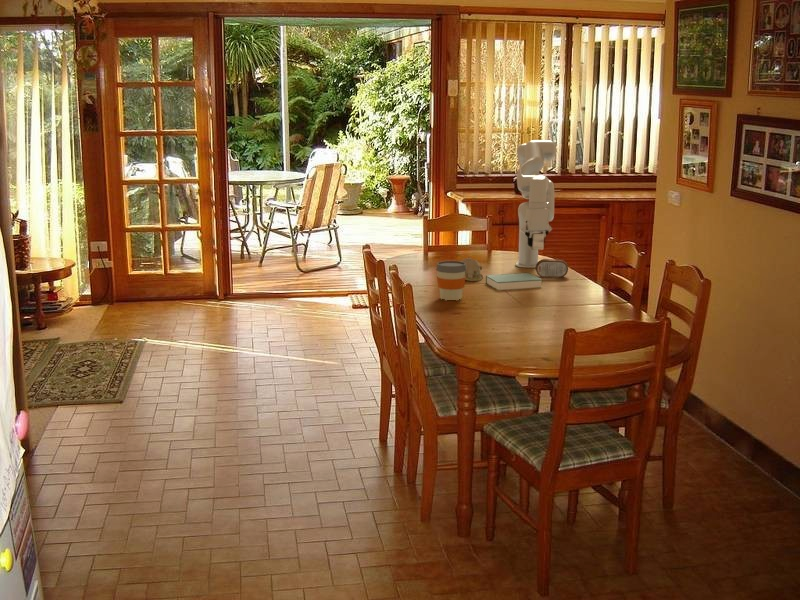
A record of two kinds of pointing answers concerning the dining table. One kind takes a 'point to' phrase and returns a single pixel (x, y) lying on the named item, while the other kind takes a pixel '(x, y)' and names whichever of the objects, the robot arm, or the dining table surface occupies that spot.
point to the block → (537, 241)
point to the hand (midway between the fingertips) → (536, 245)
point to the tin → (551, 268)
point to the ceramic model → (472, 270)
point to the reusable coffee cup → (451, 279)
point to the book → (513, 281)
